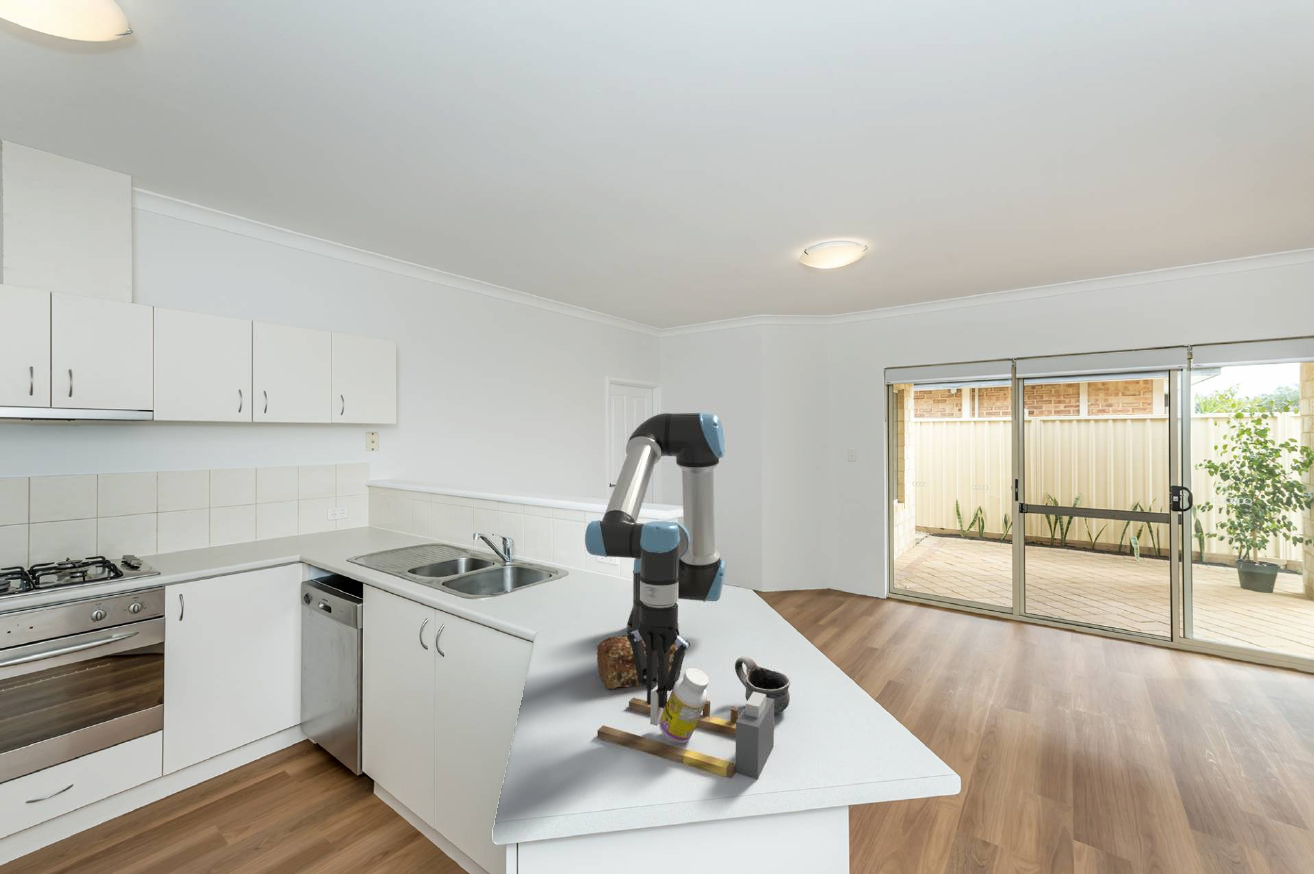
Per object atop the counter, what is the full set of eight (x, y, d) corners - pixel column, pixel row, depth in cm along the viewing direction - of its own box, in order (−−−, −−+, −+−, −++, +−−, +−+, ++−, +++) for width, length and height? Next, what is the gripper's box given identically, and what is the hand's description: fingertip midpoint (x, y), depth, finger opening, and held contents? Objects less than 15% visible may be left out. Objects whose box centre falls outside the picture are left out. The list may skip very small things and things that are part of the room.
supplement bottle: (657, 713, 110) (679, 660, 107) (688, 722, 110) (711, 669, 107) (658, 739, 103) (681, 683, 100) (691, 748, 104) (715, 693, 101)
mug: (780, 728, 110) (781, 678, 110) (723, 710, 117) (724, 663, 117) (796, 707, 119) (796, 661, 118) (741, 692, 125) (742, 648, 125)
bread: (606, 693, 124) (606, 649, 124) (595, 673, 134) (596, 632, 134) (683, 681, 131) (683, 639, 130) (667, 662, 141) (667, 624, 140)
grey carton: (733, 772, 96) (734, 709, 96) (751, 740, 106) (752, 683, 106) (757, 779, 94) (758, 715, 94) (773, 746, 104) (774, 688, 104)
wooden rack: (597, 738, 106) (597, 717, 106) (636, 701, 120) (636, 683, 120) (731, 778, 94) (732, 755, 94) (757, 732, 108) (757, 712, 108)
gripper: (620, 602, 107) (618, 722, 108) (681, 613, 102) (679, 740, 102) (638, 592, 114) (636, 705, 114) (697, 602, 108) (694, 721, 109)
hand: (656, 721), depth 108 cm, fingers closed
